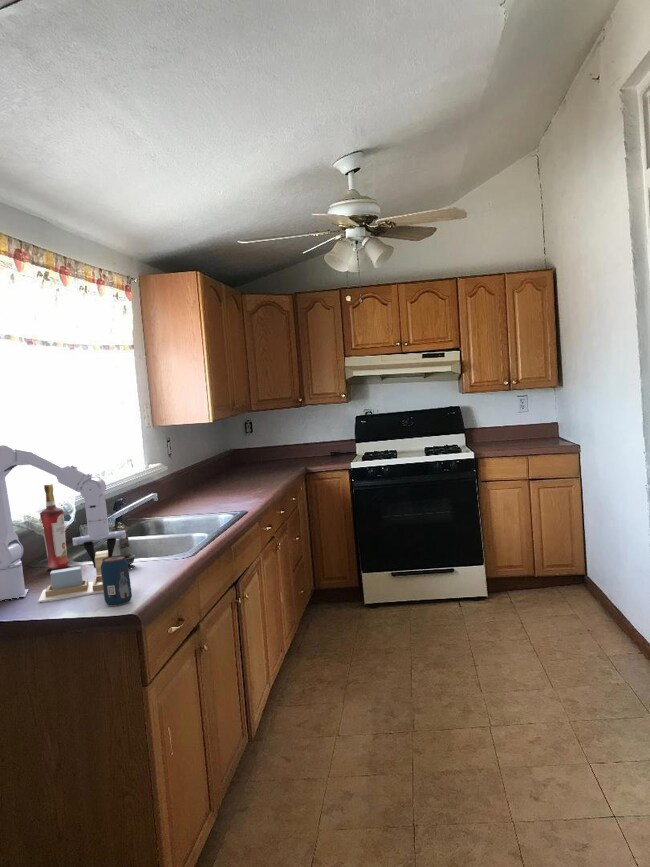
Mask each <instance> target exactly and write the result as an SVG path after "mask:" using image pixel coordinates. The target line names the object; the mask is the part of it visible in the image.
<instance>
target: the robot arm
mask: <svg viewBox="0 0 650 867" xmlns="http://www.w3.org/2000/svg"><path fill="white" fill-rule="evenodd" d="M28 465H29V466H32V467H34V468H37V469H39V470H41V471H43V472H45V473H48V474H51V475H53V476H55V477H56V479H57V481H58V483H60V484H61V485H64V486H65V487H67V488H69V489H71V490H73V491H75V492H77V493H80V495H81V497H82V498H83V499H84V506H85V516H86V524H87V532H88V533H87V535H82V536H78V537H72V546H78V545H83V547H84V549H85V551H86V552H87V554H88V556H89V558H90V559H91V562H92V565H93V568H94V569H96V566H95V554H96V551H95V543H98V542H105V541H106V546H107V550H108V556H109V557H111V556H113V553H114V549H115V546H116V542H117V540H119V538H126V534H127V533H126V530H116V531H110V527H109V520H108V519H109V518H108V509H107V502H106V497H105V494H104V493H105V492H106V491H107V490H106V489H107V484H106V482H105V480H103V479H102V478H101V476H93V474H92V473H86V472H84V471H82V470H81V469H78V465H75V464H72V465H70V464H66V465H63V466H62V465H61V464H59V463H58V462H56V461H53V459H50V458H49V457H47V456H46V455H45V456H44V455H43V454H41V453H39V452H38V451H36V450H34V449H32V448H31V447H29V446H25V445H23V444H22V443H19V442H13V443H12V442H11V443H10V444H4V445H3V444H2V445H0V599H2V600H3V599H11V598H17V599H20V598H19V597H24V598H26V596H27V594H28V593H27V592H29V591H28V590H29V588H27V589H26V586H25V579H24V577H25V576H24V573H23V572H24V571H23V564H22V560H21V558H22V557H23V555H24V547H23V544H22V543H21V542H20V539H19V535H18V534H17V533H16V532H15V531H14V526H13V520H12V513H11V507H10V501H9V495H8V489H7V484H6V483H7V482H6V477H7V475H8V474H9V473H10V472H11V471H12V470H13V469H14V468H16V467H18V466H28ZM11 600H12V599H11Z"/></svg>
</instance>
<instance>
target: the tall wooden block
mask: <svg viewBox="0 0 650 867" xmlns="http://www.w3.org/2000/svg"><path fill="white" fill-rule="evenodd" d="M107 557H109V556H108V549H107V550H102V551H101V550H99V551H95V566H96V568H95V573H96V576H100V575H102V574H101V564H102V560H103V559H104V558H107Z"/></svg>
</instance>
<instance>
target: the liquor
mask: <svg viewBox="0 0 650 867" xmlns="http://www.w3.org/2000/svg"><path fill="white" fill-rule="evenodd" d="M43 487H44V488H43V489H44V493H45V507H46V508H45V509H44V510H42V511H41V512H40V513H39V516H40V521H41V520H42V523H43V527H44V534H43V538H44V543H45V550H46V557H47V562H48V564H47V566H46V567H48V568H49V569H50V570H51V571H54V570H60V569H66V567H67V566H68V565H69V563H70V561H69V560H68V551H67V540H66V525H65V514H64V509H63V508H61V507H57V505H56V502H55V501H56V500H55V498H54V486H53V483H48V484H44V485H43ZM42 523H41V524H42Z"/></svg>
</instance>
